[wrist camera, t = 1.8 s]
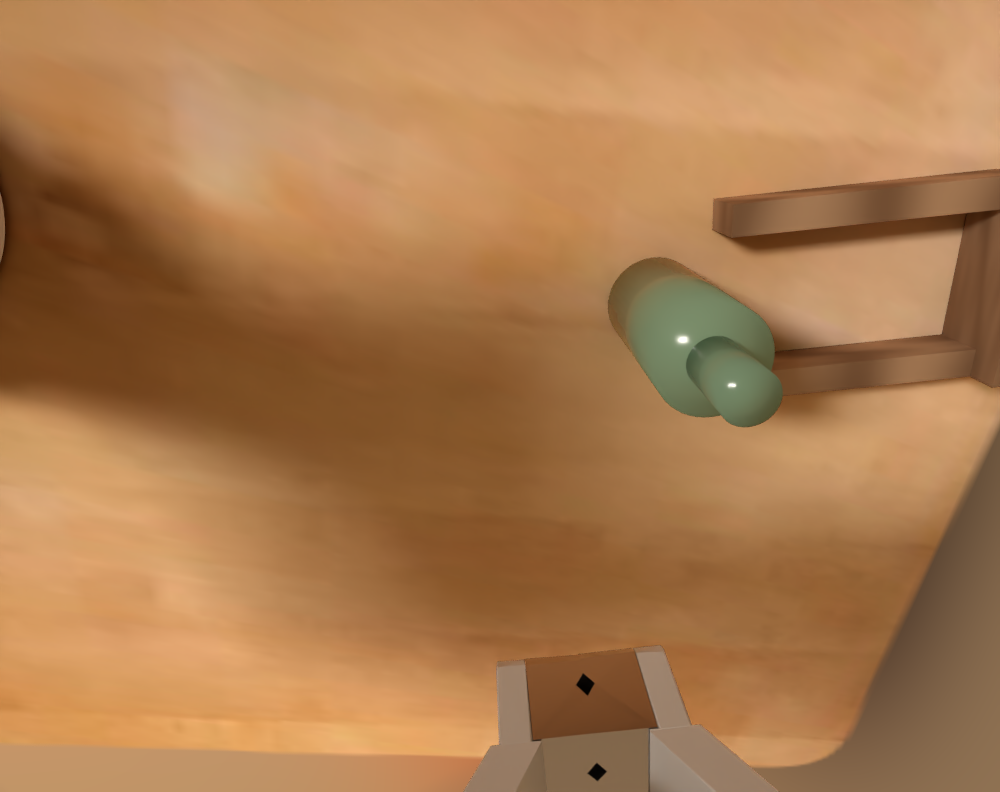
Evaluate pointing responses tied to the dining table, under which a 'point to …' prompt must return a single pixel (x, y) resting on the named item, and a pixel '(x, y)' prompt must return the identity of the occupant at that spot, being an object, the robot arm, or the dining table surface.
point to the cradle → (981, 194)
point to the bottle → (696, 343)
